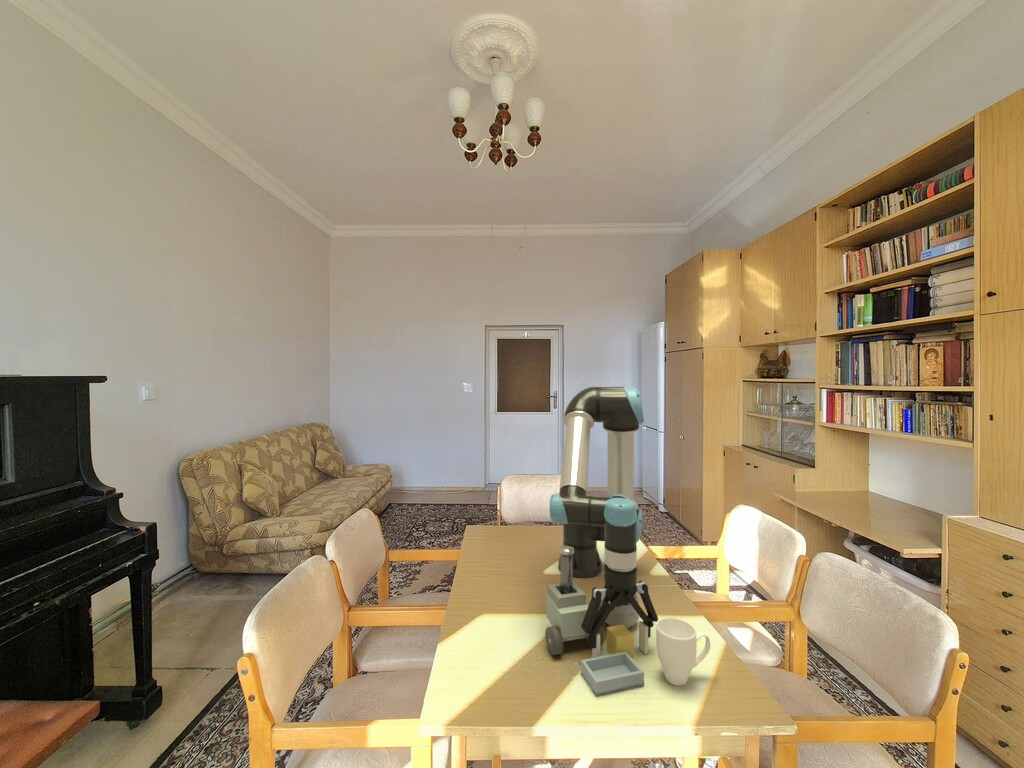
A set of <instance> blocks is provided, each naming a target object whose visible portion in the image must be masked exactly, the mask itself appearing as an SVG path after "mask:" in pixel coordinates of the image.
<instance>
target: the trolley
mask: <svg viewBox="0 0 1024 768" xmlns="http://www.w3.org/2000/svg"><path fill="white" fill-rule="evenodd" d="M588 606H589V604H588V603H587V594H586V592H585V591H583V589H582V588H581V587H580V586H579V585H578V583H576V582H575V581H573V580H572V593H570V594H563V595H562V594H561V582H559V583H552V584H551V583H550V584H547V593H546V618H547V620H548V622H549V623H550V624H551V626H547V627H546V628H545V642H546V646H547V650H548V652H549V654H550V655H551V656H557V655H562V654H563V653H564V652H563V651H564V642H569V641H575V640H579V639H584V638H585V640H586V641H585V642H586V643H587V645H588V646H589V648H591V649H592V647H591V646H590V644H589V634H586V633H585V631H584V630H583V629H582V627H581V625H582V622H583V619H584V617H585V614H586V611H587V609H588ZM598 633H599V634H600V647H602V645H603V641H604V635H603V630H602V627H601V628H600V630H599V632H598Z"/></svg>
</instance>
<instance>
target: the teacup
mask: <svg viewBox="0 0 1024 768" xmlns="http://www.w3.org/2000/svg"><path fill="white" fill-rule="evenodd" d="M605 596H606V595H604V596H603V599H604V598H605ZM634 598H635V600H636V601H637V602H638V604H639V605H640V594H639V592H638V591H637V592H636V594H635V595H634ZM602 601H603V600H601V604H600V607H601V605H602V603H603V602H602ZM609 604H611V602H610V601H609ZM600 607H599V608H600ZM639 618H640V616H639V615H638V613H637V612H636V611H635V609H634V608H633V607H632V605H631V604H630V603H629V604H628V605H626V606H625V605H622V606H620V607H615V608H614V610H613V611H611V612H610V614H609V615H608V617H607V619H606V620H605V622H604V623H606V624H607V625H608V627H611V626H616V625H622V624H623V625H624V626H625V627H626V628H627V629H628V630H629V628H631V627H633V626H634V625H635V624H637V622H639Z"/></svg>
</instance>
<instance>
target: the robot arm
mask: <svg viewBox="0 0 1024 768" xmlns="http://www.w3.org/2000/svg"><path fill="white" fill-rule="evenodd" d="M643 410H644V409H643V401H642V396H641V391H640V389H638V388H637V387H630V386H590V387H587V388H585V389H583V390H580V391H579V392H578V393H577V394H575V395H574V396H573V397H572V399H571V400H570V401H569V402H568V404H567V406H566V408H565V411H564V416H563V424H564V426H565V435H564V436H565V437H564V444H563V445H564V446H563V455H562V462H561V463H562V465H561V473H560V483H559V493H552V494H551V496H550V500H549V517H550V520H551V521H552V522H553V523H557V524H562V525H563V532H562V535H563V537H562V540H563V542H562V543H563V544H562V546H571V547H573V548H574V554H573V555H572V578H573V577H574V578H585V579H586V578H593V577H597V576H598V575H600V573H602V569H604V570H603V571H604V572H603V574H604V577H603V578H604V586H603V588H597V587H596V586H594V587H592V588H591V589H592V591H591V599H590V601H589V603H588V609H587V611H586V614H585V617H584V619H583V622H582V625H581V627H582V629H583V630H584V631H585V633H586V634H589V644H590V646H591V647H592V648H591V647H590V646H589V647H590V648H591V658H596V657H601V646H600V634H599V633H598V632H599V630H600V628H601V629H602V626H604V623H606V622H605V620H606V619H607V617H608V615H609V614H610V612H611V611H613V610H614V608H615V607H620V606H622V605H625V606H626V605H628V604H629V603H630V604H631V605H632V607H633V608H634V609H635V611H636V612H637V613H638V615H639V618H640V619H641V620H638V648H639V649H640V651H642V653H644V655H648V654H649V638H651V635H652V633H651V629H652V628H653V627H654V623H658V622H659V617H658V614H657V612H656V610H655V607H654V605H653V602H652V599H651V597H650V594H649V585H648V584H646V583H645V582H643V581H642V580H639V581H637V578H638V576H637V575H638V573H637V572H638V568H637V565H638V561H637V560H638V559H637V558H638V556H637V555H638V552H637V543H638V542H639V541H640V538H641V534H642V528H643V509H641V508H639V505H638V503H637V501H636V500H634V496H635V495H634V494H635V493H634V490H635V489H634V484H635V481H634V480H635V479H634V478H635V466H634V465H635V433H637V432H638V430H639V429H640V425H642V424H644V422H645V418H644V417H645V416H644V411H643ZM595 423H602V428H603V430H604V431H605V432H606V433H607V496H594V495H593V496H592V495H587V494H588V477H589V460H590V458H589V457H590V441H591V429H592V428H593V427H594V425H595ZM597 542H604V565H603V564H602V559H601V557H600V554H599V550H598V545H597ZM559 554H560V553H559ZM557 562H558V565H557V568H558V570H559V571H560V572H561V554H560V555H559V558H558V561H557ZM603 566H604V568H603ZM637 591H638V592H639V597H640V598H641V601H642V603H643V606H644V608H645V611H646V613H647V614H646V613H645V611H644V609H643V608H642V606H640V603H639V604H638V602H637V601H636V600H635V598H634V595H635V594H636V592H637ZM604 595H606V596H605V598H604V599H603V596H604ZM601 600H603V601H602V602H603V603H602V605H601V607H600V604H601ZM609 601H610V602H611V604H609Z"/></svg>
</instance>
